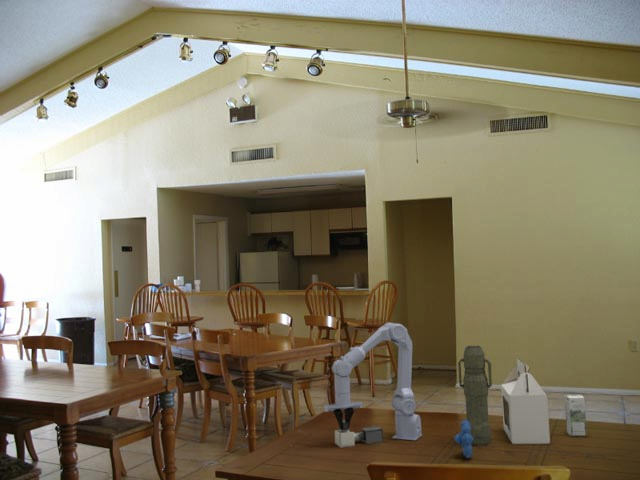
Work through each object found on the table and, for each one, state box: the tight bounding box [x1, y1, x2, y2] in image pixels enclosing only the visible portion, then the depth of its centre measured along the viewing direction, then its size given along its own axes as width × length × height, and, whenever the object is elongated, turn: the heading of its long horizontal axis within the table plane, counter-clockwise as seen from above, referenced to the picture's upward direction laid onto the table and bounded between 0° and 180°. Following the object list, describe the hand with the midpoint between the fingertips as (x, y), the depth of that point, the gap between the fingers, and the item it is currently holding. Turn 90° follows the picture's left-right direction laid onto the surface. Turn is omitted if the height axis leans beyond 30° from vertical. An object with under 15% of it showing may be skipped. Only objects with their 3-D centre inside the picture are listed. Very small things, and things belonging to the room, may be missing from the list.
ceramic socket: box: [334, 428, 356, 448], centre depth 237 cm, size 6×6×5 cm
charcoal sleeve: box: [361, 425, 384, 445], centre depth 240 cm, size 6×5×5 cm
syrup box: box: [564, 394, 588, 437], centre depth 237 cm, size 6×6×14 cm
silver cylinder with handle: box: [342, 419, 364, 442], centre depth 238 cm, size 9×4×8 cm, turn 106°
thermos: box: [457, 345, 493, 446], centre depth 233 cm, size 9×12×35 cm
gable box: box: [500, 358, 551, 445], centre depth 238 cm, size 22×13×28 cm, turn 172°
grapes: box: [453, 419, 474, 459], centre depth 216 cm, size 12×7×12 cm, turn 170°
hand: (344, 429), depth 237 cm, fingers closed on silver cylinder with handle, 2 cm apart
